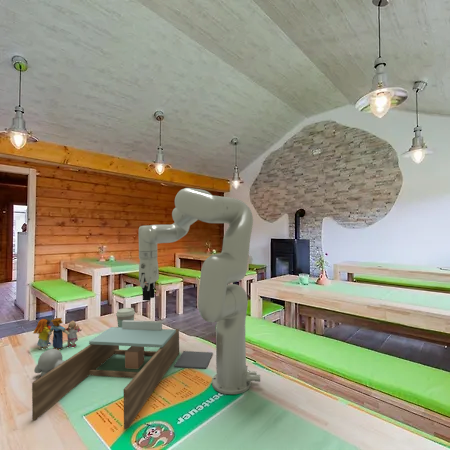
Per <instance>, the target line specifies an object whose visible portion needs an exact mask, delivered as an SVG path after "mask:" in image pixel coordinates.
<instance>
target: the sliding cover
mask: <svg viewBox="0 0 450 450" xmlns="http://www.w3.org/2000/svg"><path fill="white" fill-rule="evenodd" d="M175 332H176V329H173V328H172V329H168V328H167V329H166V328H163V321H160V320H159V321H158V320H135V319H134V320H123V321H122V328H119V327H118V326H116V327H112V326H111V327H109V328H107V329H106V330H105V331H103V332H101V333H99V334H98V335H97V336H95V337H93V338H92V339H91V340H89V341H88V345H90V344H96V345H117V346H119V347H120V346H121V347H131V346H138V347H144V348H159V349H160V348H163V346H164V345H165V344H166V343H167V342H168V341H169V339H170V338H171V337H172V336H173V335H174V334H175Z"/></svg>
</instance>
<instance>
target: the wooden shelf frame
mask: <svg viewBox="0 0 450 450" xmlns="http://www.w3.org/2000/svg"><path fill="white" fill-rule="evenodd" d="M175 330H176V332H175V334H174V335H173V336H172V337H171V338H170V339H169V341H168V342H167V343H166V344H165V345H164V346H163V348H159V349H158V350H156V351H155V350H153V351H152V350H144V357H150V359H149V360H148V361H147V362H146V363H145V364H144V365H143V367H142V368H141V369H140V370H139V371H124V370H122V371H121V370H110V369H109V370H108V369H107V370H106V369H99V368H100V367H102V365H104V363H106V362H107V361H108V360H109V359H111V358H112V357H113V356H114V355H122V356H125V351H126V350H127V349H120V346H117V345H96V344H88V345H87V346H86V347H84V348H83V349H80V351H78V352H77V353H75V354H73V355H72V356H70V357H69V358H68V359H66V360H63V361H64V362H63V363H61V364H60V365H58V366H57V367H55V368H54V369H52V370H51V371H49V372H48V373H46V374H45V375H43V376H42V377H41V376H40V377H39V378H38V379H36V380H34V381H33V382H32V383H31V393H32V395H31V399H32V400H31V401H32V403H31V404H32V405H31V409H32V413H31V414H32V419H31V420H34V421H37V420H38V419H39V418H40V417H41V416H42V415H43V414H45V413H46V412H47V411H48V410H50V409H51V408H52V407H53V406H54V405H56V404H57V403H58V402H60V401H61V400H62V399H63V398H64V397H65V396H66V395H68V394H69V393H70V392H71V391H72V390H73V389H75V388H76V387H78V385H79V384H81V383H82V382H83V381H84V380H86V379H87V378H88V377H89V376H93V377H94V376H97V377H111V378H112V377H113V378H128V379H131V380H130V381H129V382H128V383H127V385H126V386H125V387H124V388H123V389H122V390H123V428H124V429H127V428H128V429H129V428H130V426H131V424H132V423H133V422H134V420H135V419H136V417H137V416H138V414H139V413H140V412H141V410H142V408H143V407H144V406H145V404H146V402H147V401H149V398H150V396H151V395H152V394H153V392H154V391H155V390H156V388H157V387H158V386H159V384H160V382H161V381H162V379H163V378H164V377H165V375H166V374H167V372H169V371H168V370H169V369H170V368H171V367H172V365H173V363H174V362H175V361H176V359H177V357H178V356H179V354H180V329H179V328H176V329H175Z"/></svg>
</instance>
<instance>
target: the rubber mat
mask: <svg viewBox="0 0 450 450" xmlns="http://www.w3.org/2000/svg"><path fill="white" fill-rule="evenodd" d="M212 357H213V352H211V351H193V350H192V351H190V350H189V351H188V350H183V351H182V353H181V354H180V356H179V357H178V359H177V360H176V362H175V364H173V368H177V369H178V368H181V369H197V370H198V369H199V370H207V368H208V366H209V363H210V362H211V359H212Z"/></svg>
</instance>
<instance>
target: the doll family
mask: <svg viewBox="0 0 450 450" xmlns="http://www.w3.org/2000/svg"><path fill="white" fill-rule="evenodd" d="M62 319H63V318H62V317H56V318H53V319H51V320H49V318H42V319H40V320H39V321H38V322H37V325H36V327H35V329H34V330H33V332H32V334H36V335H38V341H37V343H36V344H37V346H39V348H38V350H39V349H41V348H43V349H46V348H48V347H49V345H48V344H50V345H51V344H52V349H56V348H57V350H59V349H61V348H63V349H64V347H63V346H64V345H63V344H64V343H63V342H64V339H63V338H64V337H63V334H64V333H65V334H66V336H67V345H66V348H67V347H68V348H71V347H74V348H76V347H77V346H76V345H77V344H76V343H77V342H78V341H79V339H78V335H77V333H79V332H82V328H80V325H79V324H77V323H76V321H74V320H71V321H70V322H69V323H68V326H67V327H63V326H61V324H63V322H64V321H63V320H62ZM51 323H52V326H51V325H50V324H51ZM52 334H53V336H52V343H51V342H50V337H51V335H52ZM71 345H72V346H71ZM69 346H71V347H69ZM75 346H76V347H75ZM48 349H49V348H48ZM41 350H42V349H41ZM46 350H47V349H46ZM61 350H62V349H61ZM59 351H60V350H59Z"/></svg>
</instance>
